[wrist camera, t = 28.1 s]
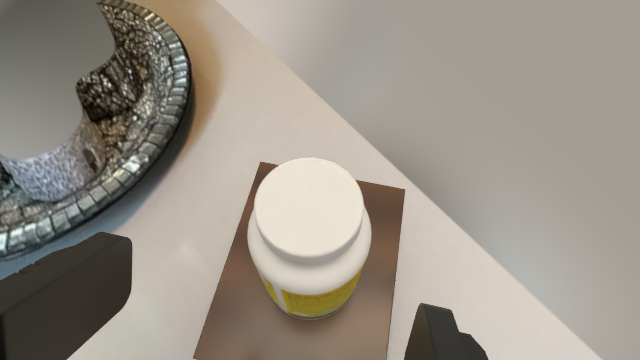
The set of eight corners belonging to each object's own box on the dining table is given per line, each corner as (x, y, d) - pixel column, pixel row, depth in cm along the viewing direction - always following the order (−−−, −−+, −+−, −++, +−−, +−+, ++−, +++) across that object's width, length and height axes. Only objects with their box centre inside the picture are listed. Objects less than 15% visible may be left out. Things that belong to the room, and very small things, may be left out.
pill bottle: (371, 257, 26) (407, 181, 16) (327, 340, 23) (338, 308, 13) (296, 215, 27) (288, 122, 18) (246, 289, 25) (204, 226, 15)
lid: (261, 166, 30) (260, 161, 29) (403, 193, 29) (405, 189, 28) (196, 359, 23) (192, 358, 22) (379, 403, 22) (381, 404, 21)
